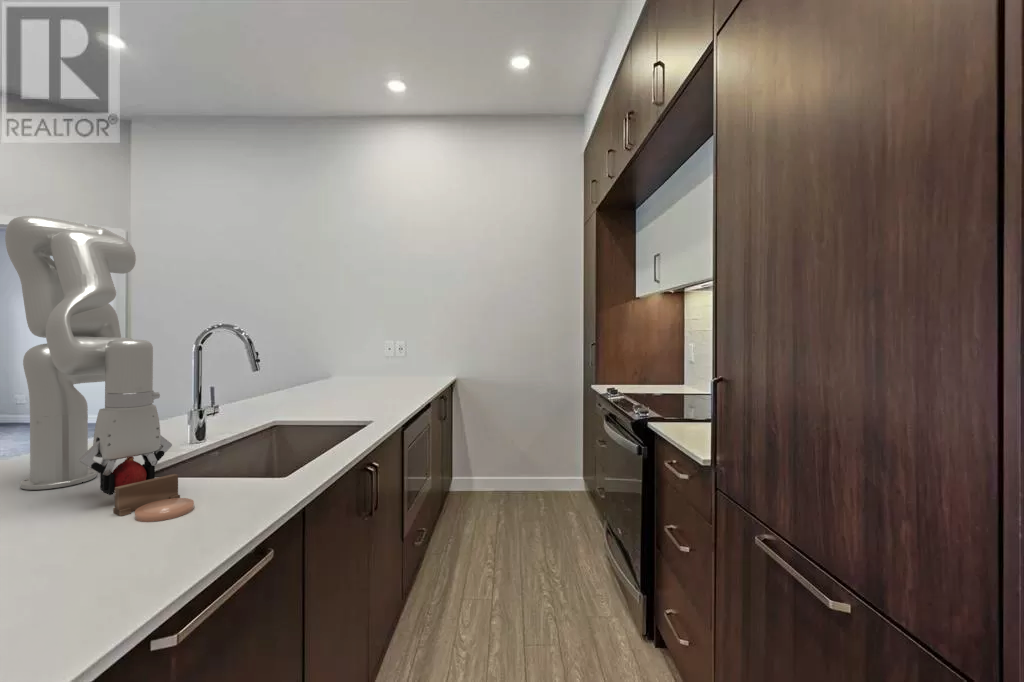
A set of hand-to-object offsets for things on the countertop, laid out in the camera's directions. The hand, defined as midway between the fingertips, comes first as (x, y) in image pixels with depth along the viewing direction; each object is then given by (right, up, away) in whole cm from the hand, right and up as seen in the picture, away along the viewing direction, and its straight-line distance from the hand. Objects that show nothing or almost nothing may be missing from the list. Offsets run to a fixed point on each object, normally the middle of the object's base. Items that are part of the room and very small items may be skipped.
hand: (128, 487), depth 96 cm
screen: (+7, -2, -4) cm, 8 cm away
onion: (0, -2, 0) cm, 2 cm away
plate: (+12, -3, -7) cm, 14 cm away
